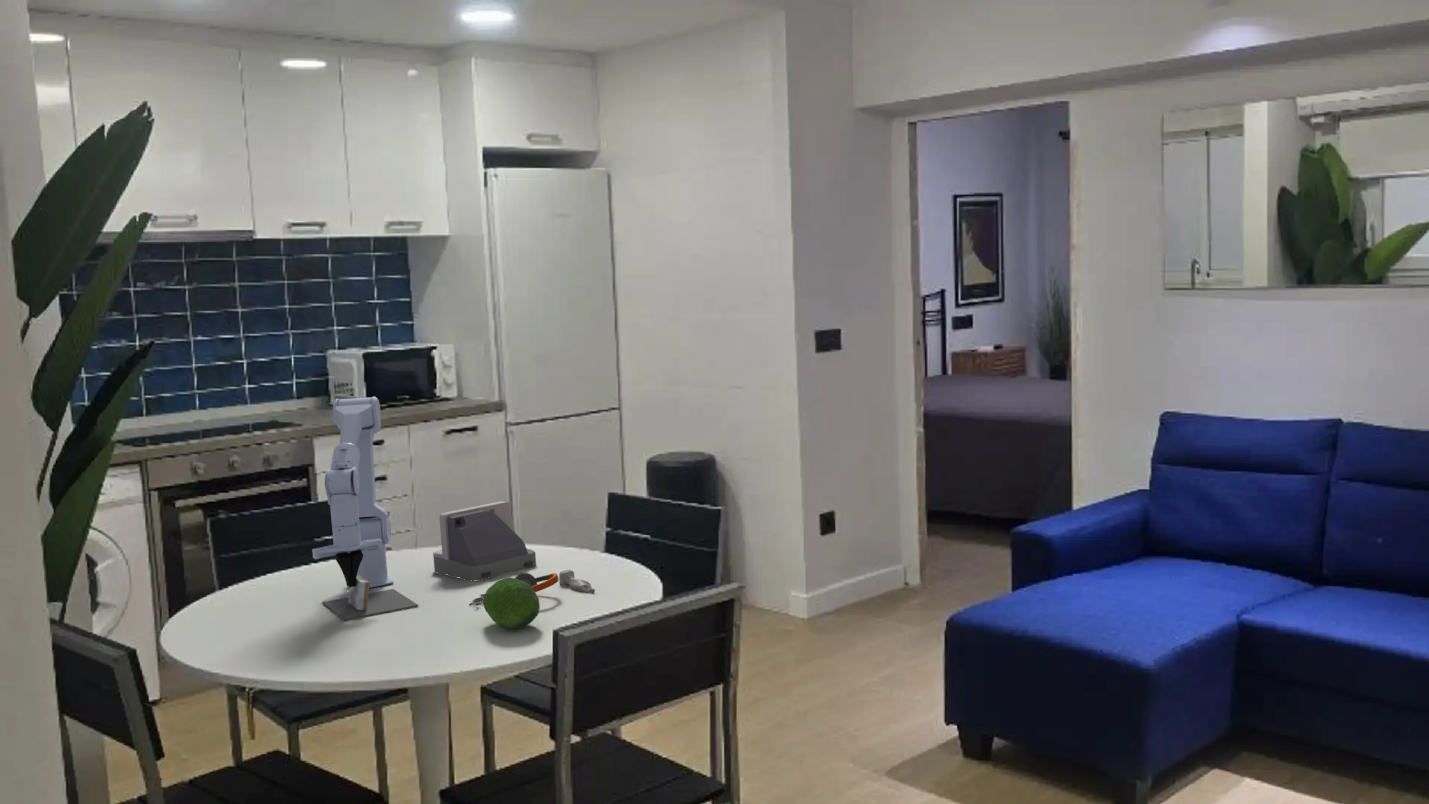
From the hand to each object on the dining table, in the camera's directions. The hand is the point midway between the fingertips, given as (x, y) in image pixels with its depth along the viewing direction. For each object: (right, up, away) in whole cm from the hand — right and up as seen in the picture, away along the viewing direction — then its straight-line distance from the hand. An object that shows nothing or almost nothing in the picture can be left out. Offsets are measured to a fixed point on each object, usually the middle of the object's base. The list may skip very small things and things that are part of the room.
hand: (351, 586), depth 268 cm
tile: (+1, -5, +1) cm, 5 cm away
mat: (+3, -5, +3) cm, 7 cm away
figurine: (+49, -2, +8) cm, 49 cm away
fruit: (+38, -5, -19) cm, 43 cm away
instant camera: (+23, -1, +32) cm, 40 cm away
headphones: (+35, -4, +2) cm, 36 cm away
